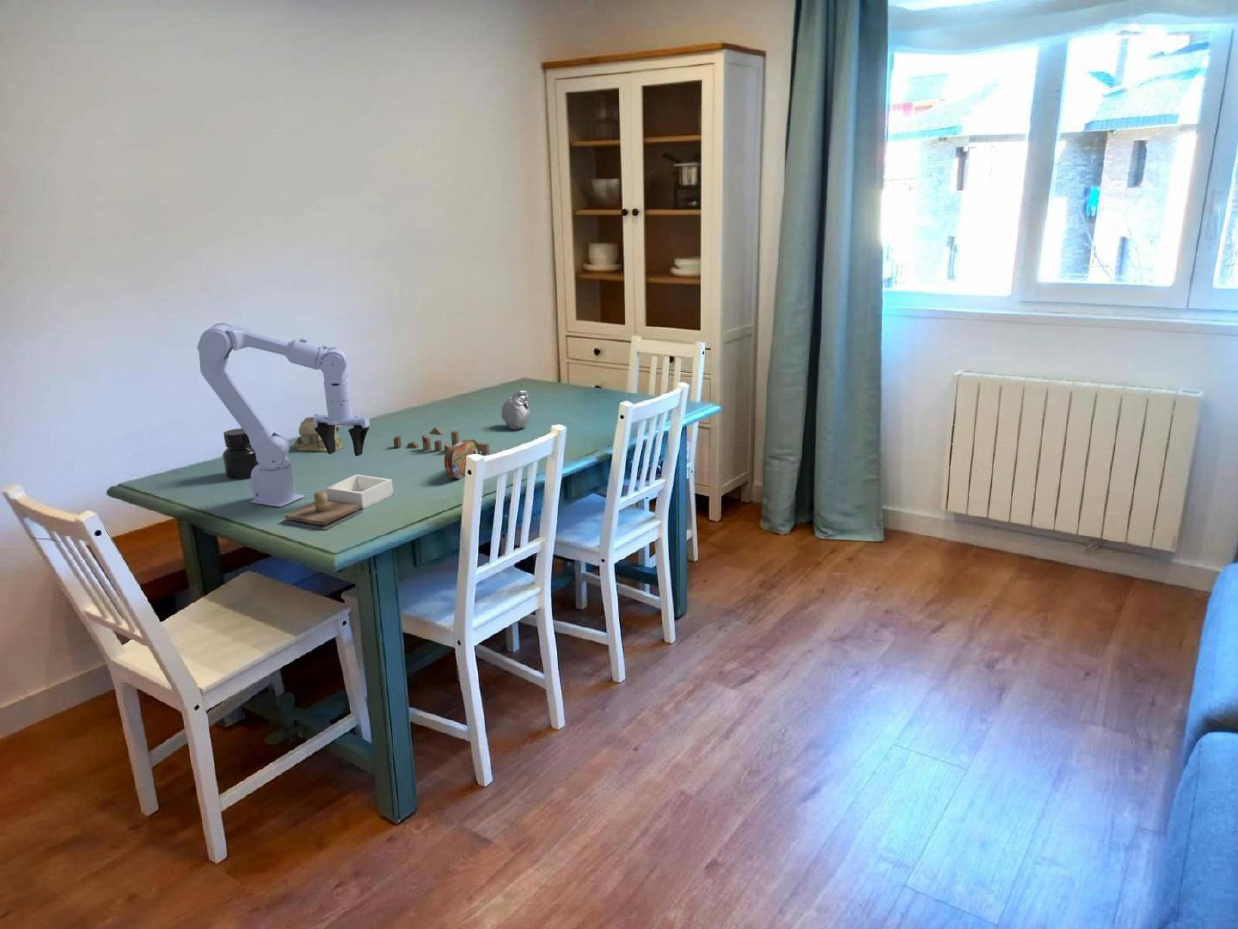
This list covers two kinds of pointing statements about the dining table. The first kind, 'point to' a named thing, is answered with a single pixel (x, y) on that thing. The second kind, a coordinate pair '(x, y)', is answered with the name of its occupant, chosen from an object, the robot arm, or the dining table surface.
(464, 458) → the tin
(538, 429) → the dining table surface
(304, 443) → the ceramic model
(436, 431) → the wooden blocks
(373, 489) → the box
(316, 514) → the lid
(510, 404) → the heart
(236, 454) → the ink bottle
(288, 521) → the mat
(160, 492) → the dining table surface
